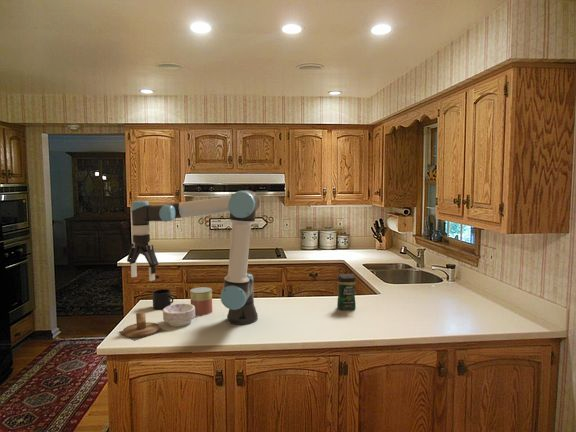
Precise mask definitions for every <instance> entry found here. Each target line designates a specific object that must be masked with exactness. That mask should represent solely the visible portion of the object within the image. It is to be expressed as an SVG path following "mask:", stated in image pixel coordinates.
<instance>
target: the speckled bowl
mask: <svg viewBox="0 0 576 432" xmlns="http://www.w3.org/2000/svg"><path fill="white" fill-rule="evenodd" d="M195 318H196V315H195V306H194V305H191V303H175V304H174V303H173V304H171V305H170V306H167V307H165V308H164V309H163V310H162V319H163V322H165V323H167V324H168V325H169V326H171V327H183V326H186V325H187V326H188V325H189V324H190V323H191V322H192V320H193V319H195Z"/></svg>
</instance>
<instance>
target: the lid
mask: <svg viewBox="0 0 576 432" xmlns="http://www.w3.org/2000/svg"><path fill="white" fill-rule="evenodd" d="M135 318H136V319H135V321H136V323H133V324H130V325H128V326H125V327H124V328H123V329H122V331H123V335H124V336H123V335H122V336H123V337H125V338H127V337H129V338H141V337H145V338H147V336H148V337H150V336H154V335H157V334H158V333H157V332H159V330H160V328H161V327H160V324H158V323H156V322H147V319H146V312H145V311H140V312H136V313H135ZM156 333H157V334H156ZM153 334H154V335H153ZM129 338H128V339H129Z"/></svg>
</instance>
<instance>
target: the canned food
mask: <svg viewBox="0 0 576 432" xmlns="http://www.w3.org/2000/svg"><path fill="white" fill-rule="evenodd" d="M212 291H213V289H212V288H211V287H208V286H207V287H206V286H204V287H203V286H201V287H194V288H191V289H190V290H189V292H190V304H191V305H194V306H195V316H206V315H210V314H212V313H213V292H212Z"/></svg>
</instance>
